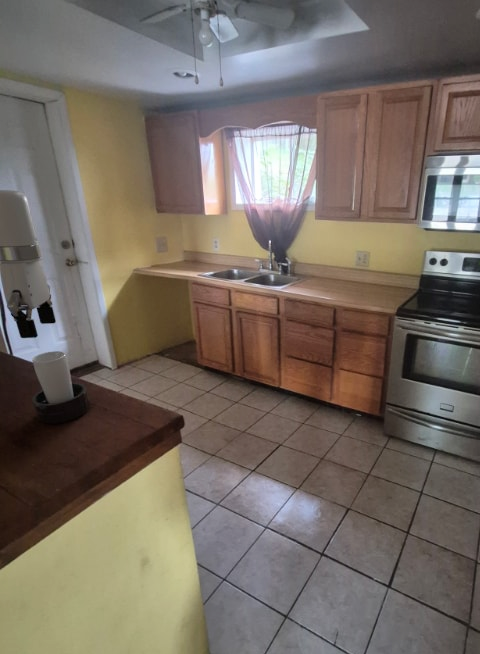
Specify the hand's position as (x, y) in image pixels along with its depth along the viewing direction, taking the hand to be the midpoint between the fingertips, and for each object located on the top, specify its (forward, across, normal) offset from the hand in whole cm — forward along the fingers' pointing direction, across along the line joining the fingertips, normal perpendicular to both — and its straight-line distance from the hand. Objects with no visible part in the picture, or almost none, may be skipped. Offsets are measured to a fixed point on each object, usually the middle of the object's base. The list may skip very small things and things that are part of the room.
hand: (39, 329), depth 85 cm
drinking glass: (+22, 0, +1) cm, 22 cm away
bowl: (+22, 0, +1) cm, 22 cm away
